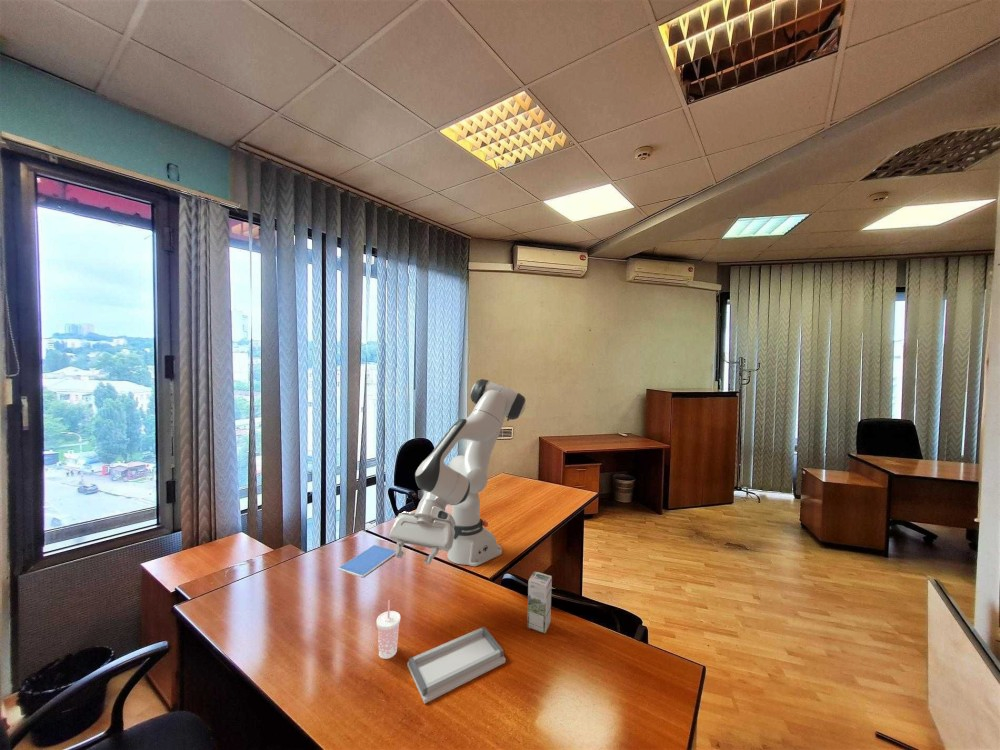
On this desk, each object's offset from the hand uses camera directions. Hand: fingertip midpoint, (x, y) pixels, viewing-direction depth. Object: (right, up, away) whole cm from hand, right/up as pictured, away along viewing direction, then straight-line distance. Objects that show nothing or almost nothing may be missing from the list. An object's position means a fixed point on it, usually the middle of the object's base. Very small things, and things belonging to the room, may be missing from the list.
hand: (412, 560), depth 106 cm
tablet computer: (-25, -18, +33) cm, 45 cm away
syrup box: (+37, -20, +1) cm, 42 cm away
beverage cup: (-4, -19, -11) cm, 22 cm away
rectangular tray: (+15, -19, -14) cm, 28 cm away
